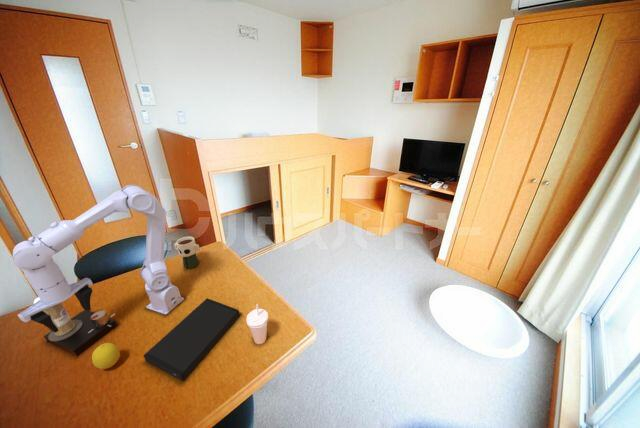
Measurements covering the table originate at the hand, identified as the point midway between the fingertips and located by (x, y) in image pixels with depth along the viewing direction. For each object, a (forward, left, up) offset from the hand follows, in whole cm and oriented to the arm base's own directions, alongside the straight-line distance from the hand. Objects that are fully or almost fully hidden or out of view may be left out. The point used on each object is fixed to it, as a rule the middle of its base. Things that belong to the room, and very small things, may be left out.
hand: (71, 319), depth 68 cm
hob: (+4, -3, -10) cm, 12 cm away
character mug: (0, -41, -11) cm, 42 cm away
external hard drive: (-30, -13, -11) cm, 34 cm away
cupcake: (+1, -5, -8) cm, 10 cm away
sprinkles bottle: (+8, 0, -8) cm, 11 cm away
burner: (+8, 0, -8) cm, 11 cm away
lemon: (-14, +2, -11) cm, 18 cm away
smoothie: (-49, -19, -11) cm, 54 cm away
